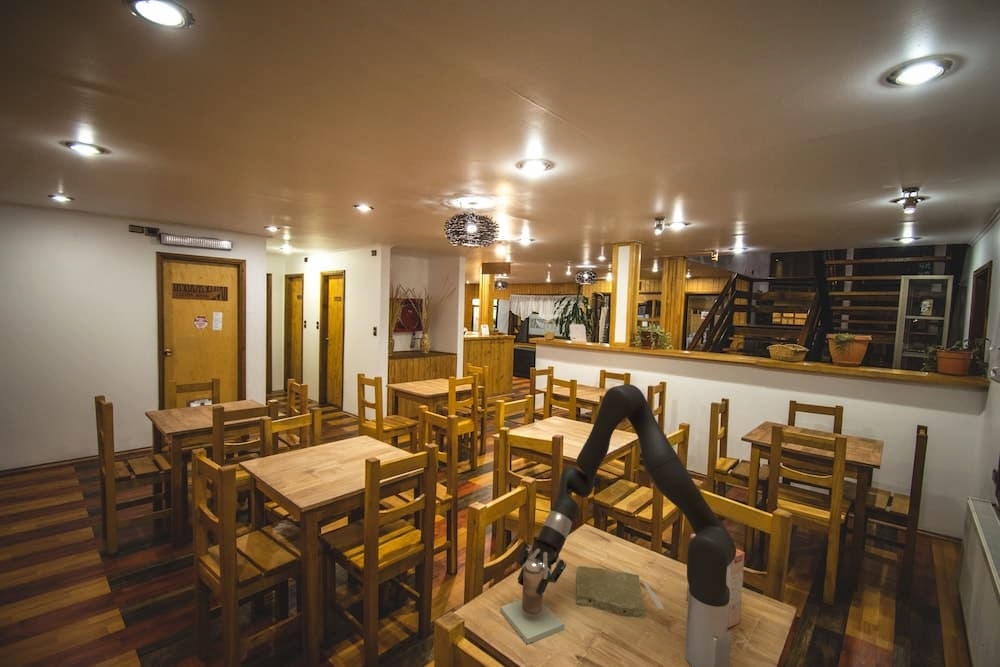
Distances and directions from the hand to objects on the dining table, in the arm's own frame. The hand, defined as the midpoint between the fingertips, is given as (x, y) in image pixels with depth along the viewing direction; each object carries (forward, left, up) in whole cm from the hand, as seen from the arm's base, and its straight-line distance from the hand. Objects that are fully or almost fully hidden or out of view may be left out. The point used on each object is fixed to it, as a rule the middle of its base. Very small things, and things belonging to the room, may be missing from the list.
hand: (529, 588), depth 123 cm
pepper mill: (+1, -2, -6) cm, 7 cm away
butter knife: (-1, -44, -11) cm, 45 cm away
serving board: (+1, -2, -10) cm, 10 cm away
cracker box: (-20, -52, -10) cm, 56 cm away
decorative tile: (0, -30, -11) cm, 31 cm away
